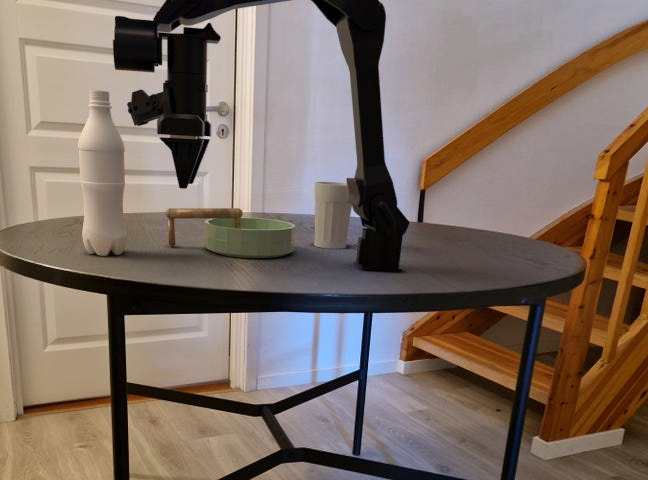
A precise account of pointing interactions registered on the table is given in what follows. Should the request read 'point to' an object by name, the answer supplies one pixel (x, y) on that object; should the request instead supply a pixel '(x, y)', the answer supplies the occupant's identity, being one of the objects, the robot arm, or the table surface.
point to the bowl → (250, 237)
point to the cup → (331, 214)
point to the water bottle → (102, 179)
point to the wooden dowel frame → (200, 217)
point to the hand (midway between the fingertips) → (186, 186)
